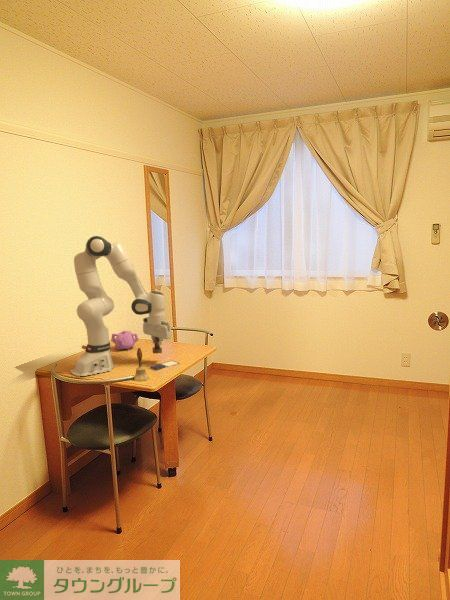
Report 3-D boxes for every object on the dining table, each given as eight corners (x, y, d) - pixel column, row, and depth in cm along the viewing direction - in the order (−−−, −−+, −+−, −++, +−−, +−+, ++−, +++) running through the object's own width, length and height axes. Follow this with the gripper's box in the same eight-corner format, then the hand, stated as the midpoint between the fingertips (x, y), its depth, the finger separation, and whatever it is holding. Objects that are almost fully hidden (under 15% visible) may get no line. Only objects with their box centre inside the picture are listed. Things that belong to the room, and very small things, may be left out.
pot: (116, 344, 272) (115, 327, 270) (142, 344, 271) (141, 327, 269) (107, 352, 254) (106, 334, 252) (135, 352, 253) (134, 334, 252)
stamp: (153, 353, 229) (152, 337, 228) (152, 351, 233) (152, 335, 232) (161, 353, 230) (161, 337, 229) (161, 350, 234) (161, 335, 233)
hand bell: (143, 382, 202) (142, 351, 200) (129, 380, 205) (127, 349, 203) (152, 376, 210) (151, 346, 207) (138, 374, 213) (137, 345, 210)
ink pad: (156, 370, 219) (156, 368, 219) (150, 368, 223) (149, 366, 222) (165, 367, 223) (165, 365, 223) (159, 365, 227) (159, 363, 227)
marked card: (168, 367, 223) (168, 366, 223) (159, 364, 229) (159, 364, 228) (180, 363, 230) (180, 363, 230) (171, 361, 235) (171, 360, 235)
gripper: (174, 322, 225) (174, 346, 227) (149, 316, 237) (149, 339, 240) (165, 324, 220) (165, 348, 222) (140, 318, 232) (141, 341, 235)
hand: (157, 344), depth 231 cm, fingers closed on stamp, 3 cm apart
